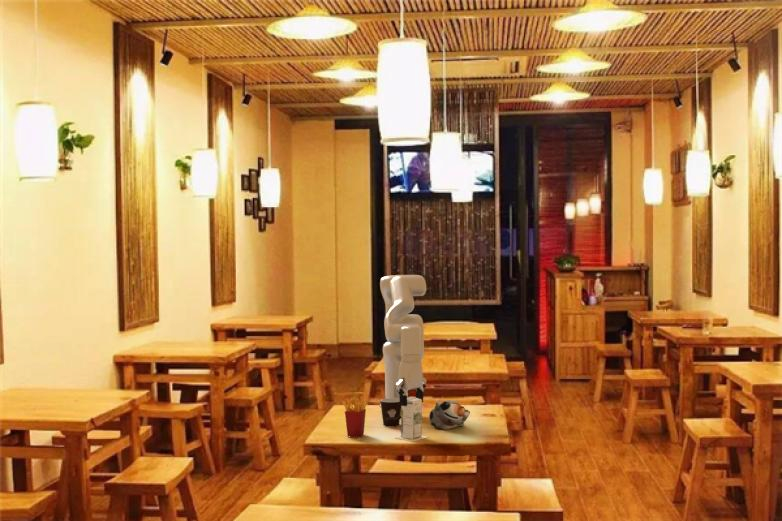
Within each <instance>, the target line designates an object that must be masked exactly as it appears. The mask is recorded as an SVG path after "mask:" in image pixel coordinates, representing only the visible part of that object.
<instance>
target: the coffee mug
mask: <svg viewBox="0 0 782 521" xmlns="http://www.w3.org/2000/svg"><path fill="white" fill-rule="evenodd" d="M380 404H381V407H380V408H381V418H382V423H383V424H382V425H383V426H384V425H385V426H384V427H388V426H394V427H399V426H400V423H401V416H400V412H401V406H400V399H396V398H387V399H385V398H382V399H380ZM398 425H399V426H398Z"/></svg>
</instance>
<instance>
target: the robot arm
mask: <svg viewBox="0 0 782 521" xmlns="http://www.w3.org/2000/svg"><path fill="white" fill-rule="evenodd" d="M379 287H380V292H381V295H382V299H383V300H384V304H385V316H384V320H383V322H384V323H383V324H384V325H383V326H384V335H385V339H386V340H387V341H386V342H385V343H383V345H382V356H383V362H384V386H385V387H384V390H385V393H384V396H385V398H384V399H387V398H396V399H400V406H407V398H409V396H408V395H409V393H408V391H409V390H414V389H415V390H416V391H415V398H418V399H421V400H422V403H424V392H425V388H426V384H427V378H426V377H424V373H423V372H424V370H423V364H422V360H423V359H424V356H425V355H424V354H425V346H424V345H425V344H424V343H425V340H424V339H425V338H424V336H425V333H424V332H425V330H424V320H423V318H422V316H421V315H419V314H415V313H414V314H410V313H411V312H413V310H414V308H415V301H414V297H423V296H424V295H425V294H426V292H427V283H426V280H425V277H423V276H422V275H419V274H395V275H386V276H383V277H381V278H380V282H379ZM379 408H381V403H380V404H379ZM400 416H401V412H400Z"/></svg>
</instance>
